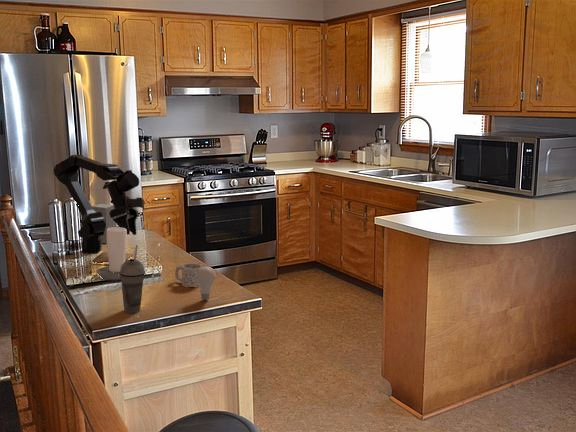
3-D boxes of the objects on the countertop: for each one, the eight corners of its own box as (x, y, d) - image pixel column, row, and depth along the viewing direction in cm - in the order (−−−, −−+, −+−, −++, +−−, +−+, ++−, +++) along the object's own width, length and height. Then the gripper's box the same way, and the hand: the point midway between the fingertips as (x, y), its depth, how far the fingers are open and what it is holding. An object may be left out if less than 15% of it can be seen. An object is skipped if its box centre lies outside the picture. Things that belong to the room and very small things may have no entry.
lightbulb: (218, 299, 189) (219, 265, 187) (209, 304, 184) (210, 270, 181) (201, 296, 191) (201, 263, 189) (191, 301, 185) (192, 267, 183)
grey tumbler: (131, 270, 209) (131, 229, 206) (116, 274, 203) (115, 232, 201) (117, 267, 213) (117, 226, 210) (102, 271, 207) (102, 229, 204)
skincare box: (117, 241, 255) (117, 205, 252) (105, 244, 249) (105, 207, 246) (102, 238, 259) (102, 202, 256) (90, 241, 253) (90, 205, 250)
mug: (205, 284, 204) (205, 265, 203) (194, 289, 198) (195, 269, 197) (181, 279, 208) (181, 260, 207) (169, 283, 202) (170, 265, 201)
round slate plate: (91, 279, 202) (91, 275, 201) (103, 269, 214) (103, 265, 214) (130, 281, 202) (130, 277, 202) (139, 270, 215) (139, 266, 214)
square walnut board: (92, 264, 220) (92, 260, 219) (102, 255, 232) (102, 252, 231) (125, 265, 220) (125, 261, 220) (132, 257, 232) (132, 253, 231)
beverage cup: (122, 306, 178) (122, 241, 175) (146, 306, 179) (147, 242, 175) (117, 314, 171) (117, 247, 167) (142, 315, 172) (143, 248, 168)
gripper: (131, 186, 216) (145, 226, 215) (144, 191, 235) (157, 228, 234) (102, 196, 216) (116, 237, 215) (118, 200, 235) (131, 237, 234)
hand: (131, 234), depth 225 cm, fingers open, 9 cm apart
